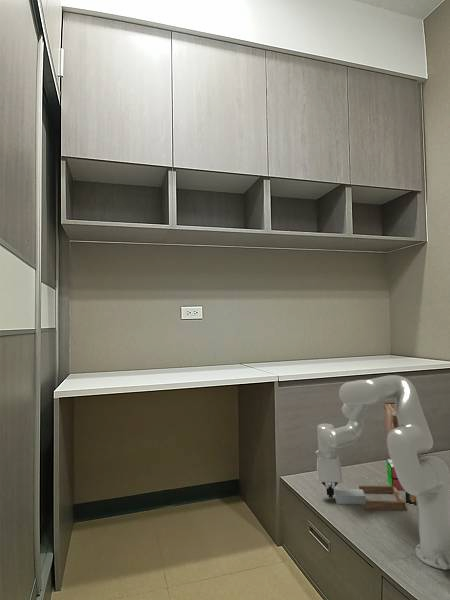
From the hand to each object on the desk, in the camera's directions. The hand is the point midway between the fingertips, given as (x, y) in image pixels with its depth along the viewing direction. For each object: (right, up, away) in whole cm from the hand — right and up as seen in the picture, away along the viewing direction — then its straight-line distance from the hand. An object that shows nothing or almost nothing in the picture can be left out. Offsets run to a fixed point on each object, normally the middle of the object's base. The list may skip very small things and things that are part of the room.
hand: (330, 496), depth 163 cm
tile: (+11, -1, -2) cm, 11 cm away
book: (+44, 0, +28) cm, 53 cm away
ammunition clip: (+34, +1, -9) cm, 35 cm away
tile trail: (+5, -1, -1) cm, 5 cm away
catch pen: (+21, 0, -4) cm, 21 cm away
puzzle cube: (+35, 0, +9) cm, 36 cm away
